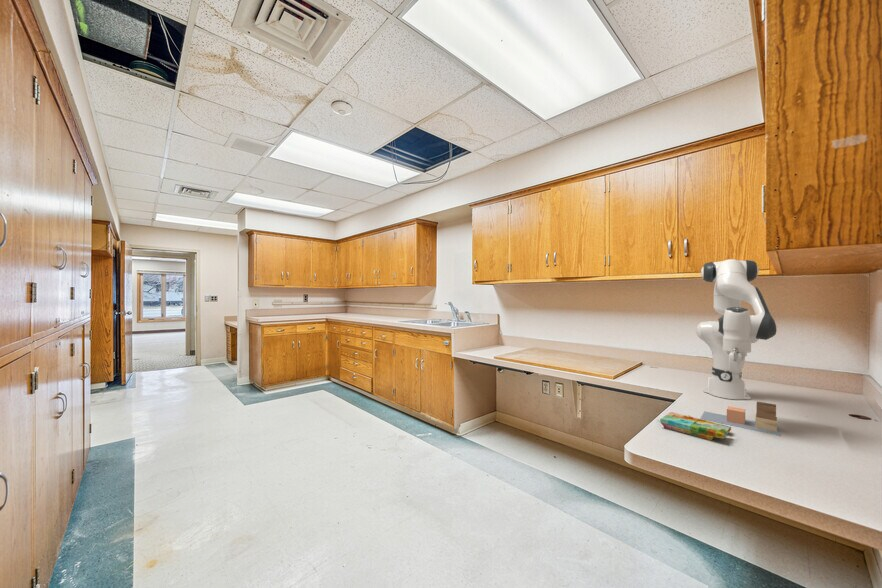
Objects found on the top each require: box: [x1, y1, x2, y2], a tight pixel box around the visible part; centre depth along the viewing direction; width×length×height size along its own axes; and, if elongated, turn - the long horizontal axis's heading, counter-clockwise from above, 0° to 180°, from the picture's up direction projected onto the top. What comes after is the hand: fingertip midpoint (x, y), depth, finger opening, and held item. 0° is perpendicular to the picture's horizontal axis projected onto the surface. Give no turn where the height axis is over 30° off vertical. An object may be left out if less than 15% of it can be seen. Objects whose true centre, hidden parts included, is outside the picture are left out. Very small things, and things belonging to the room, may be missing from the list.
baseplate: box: [699, 411, 782, 437], centre depth 138 cm, size 13×24×1 cm, turn 46°
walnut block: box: [755, 400, 777, 421], centre depth 133 cm, size 6×6×5 cm
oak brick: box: [755, 416, 778, 432], centre depth 133 cm, size 6×6×4 cm
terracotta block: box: [726, 405, 746, 425], centre depth 140 cm, size 6×6×5 cm
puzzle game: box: [659, 411, 732, 441], centre depth 132 cm, size 12×5×20 cm
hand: (736, 380), depth 140 cm, fingers open, 8 cm apart
